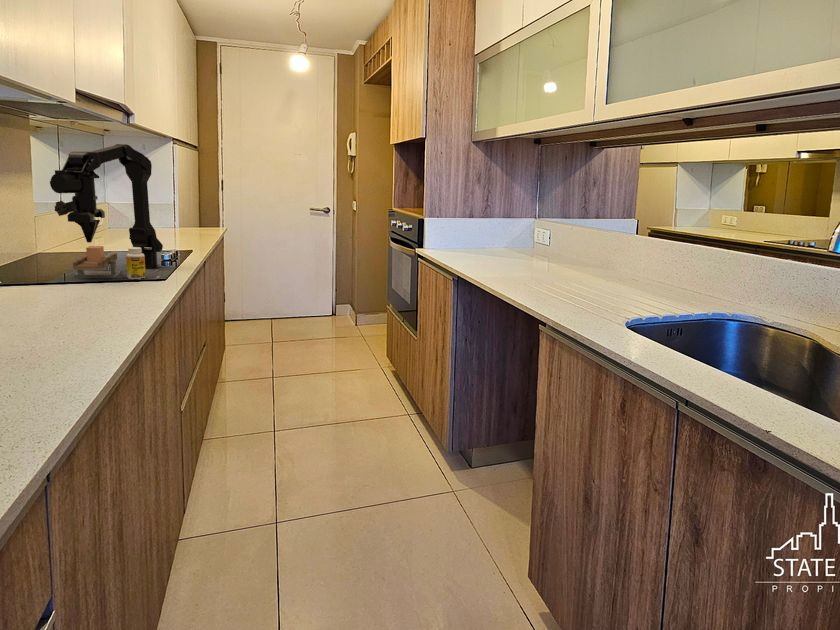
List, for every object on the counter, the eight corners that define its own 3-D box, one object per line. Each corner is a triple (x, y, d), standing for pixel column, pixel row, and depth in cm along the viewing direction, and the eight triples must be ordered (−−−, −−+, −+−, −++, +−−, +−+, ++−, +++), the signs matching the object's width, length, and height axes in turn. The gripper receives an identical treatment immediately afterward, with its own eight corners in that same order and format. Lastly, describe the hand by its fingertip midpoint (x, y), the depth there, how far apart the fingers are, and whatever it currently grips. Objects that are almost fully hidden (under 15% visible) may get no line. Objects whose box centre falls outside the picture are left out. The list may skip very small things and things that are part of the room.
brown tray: (92, 258, 206) (91, 252, 205) (117, 258, 208) (116, 252, 207) (73, 269, 185) (72, 262, 185) (101, 269, 187) (100, 262, 187)
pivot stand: (81, 273, 200) (79, 259, 199) (119, 273, 203) (118, 259, 202) (74, 277, 192) (72, 262, 191) (114, 277, 195) (113, 262, 194)
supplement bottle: (130, 280, 192) (128, 249, 190) (125, 277, 196) (122, 247, 194) (148, 279, 196) (146, 248, 194) (142, 276, 200) (140, 246, 198)
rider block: (91, 259, 198) (90, 245, 197) (104, 259, 199) (103, 245, 198) (87, 261, 194) (86, 247, 193) (100, 261, 195) (99, 248, 194)
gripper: (65, 190, 192) (70, 238, 195) (46, 193, 174) (51, 245, 178) (103, 192, 195) (107, 239, 198) (87, 194, 177) (92, 246, 181)
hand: (89, 242), depth 189 cm, fingers closed
